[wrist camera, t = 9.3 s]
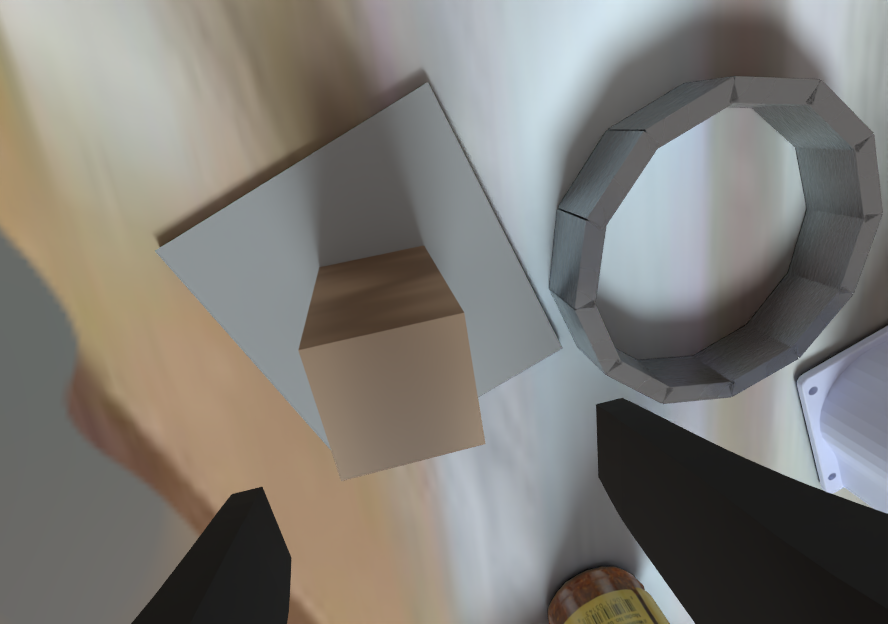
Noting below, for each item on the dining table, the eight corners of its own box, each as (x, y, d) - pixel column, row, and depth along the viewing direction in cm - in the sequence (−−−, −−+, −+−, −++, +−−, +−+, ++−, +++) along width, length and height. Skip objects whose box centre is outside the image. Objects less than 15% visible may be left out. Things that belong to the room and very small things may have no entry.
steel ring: (838, 286, 22) (892, 304, 20) (611, 417, 23) (640, 449, 21) (792, 17, 17) (859, 0, 15) (502, 192, 18) (524, 202, 15)
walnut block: (424, 245, 18) (464, 312, 11) (441, 338, 19) (485, 444, 13) (319, 267, 17) (298, 350, 11) (345, 360, 19) (341, 481, 12)
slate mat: (558, 344, 21) (562, 348, 20) (350, 466, 21) (350, 472, 21) (426, 83, 16) (427, 81, 15) (159, 248, 16) (154, 250, 16)
